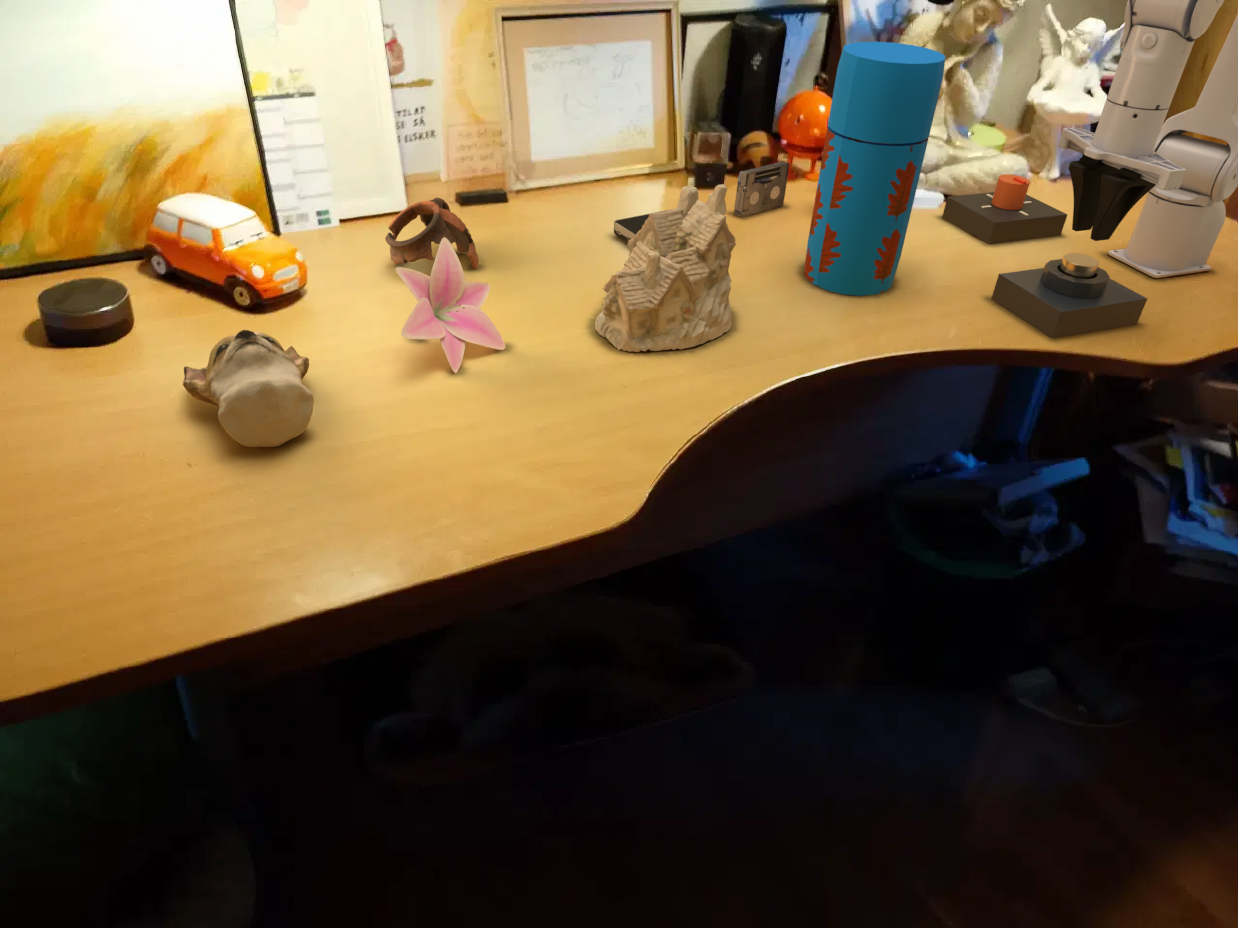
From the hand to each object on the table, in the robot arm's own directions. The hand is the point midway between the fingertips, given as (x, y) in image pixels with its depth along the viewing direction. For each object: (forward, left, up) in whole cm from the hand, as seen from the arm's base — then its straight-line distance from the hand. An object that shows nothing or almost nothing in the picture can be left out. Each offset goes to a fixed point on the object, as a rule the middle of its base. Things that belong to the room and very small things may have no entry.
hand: (1090, 234), depth 98 cm
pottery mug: (+65, -32, -9) cm, 73 cm away
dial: (-11, -24, -6) cm, 27 cm away
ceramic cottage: (+45, -12, -9) cm, 48 cm away
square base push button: (0, 0, -9) cm, 9 cm away
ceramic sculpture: (+86, -3, -9) cm, 87 cm away
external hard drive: (+36, -32, -9) cm, 49 cm away
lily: (+68, -10, -9) cm, 69 cm away
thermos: (+19, -15, -9) cm, 26 cm away
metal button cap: (0, 0, -5) cm, 5 cm away
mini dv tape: (+19, -38, -9) cm, 44 cm away
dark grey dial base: (-11, -24, -9) cm, 28 cm away
